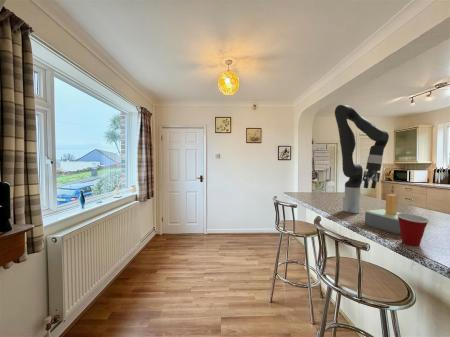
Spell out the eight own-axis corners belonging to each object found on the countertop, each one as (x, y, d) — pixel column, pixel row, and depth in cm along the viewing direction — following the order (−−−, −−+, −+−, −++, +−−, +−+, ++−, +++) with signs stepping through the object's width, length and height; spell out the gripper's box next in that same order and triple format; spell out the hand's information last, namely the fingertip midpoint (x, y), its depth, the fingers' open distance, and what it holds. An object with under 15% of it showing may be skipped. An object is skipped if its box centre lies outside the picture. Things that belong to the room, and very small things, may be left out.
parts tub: (364, 224, 122) (365, 212, 122) (383, 222, 126) (383, 210, 126) (399, 235, 105) (399, 221, 105) (418, 232, 109) (419, 218, 109)
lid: (365, 214, 122) (366, 192, 121) (383, 213, 126) (384, 191, 125) (399, 224, 105) (400, 198, 104) (419, 221, 109) (420, 197, 108)
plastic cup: (415, 250, 88) (417, 220, 87) (389, 240, 98) (390, 214, 98) (435, 247, 91) (436, 219, 90) (407, 238, 101) (408, 212, 101)
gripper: (374, 162, 142) (369, 187, 144) (361, 160, 135) (356, 186, 137) (387, 164, 135) (381, 189, 137) (374, 162, 129) (369, 189, 130)
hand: (369, 188), depth 137 cm, fingers open, 8 cm apart
